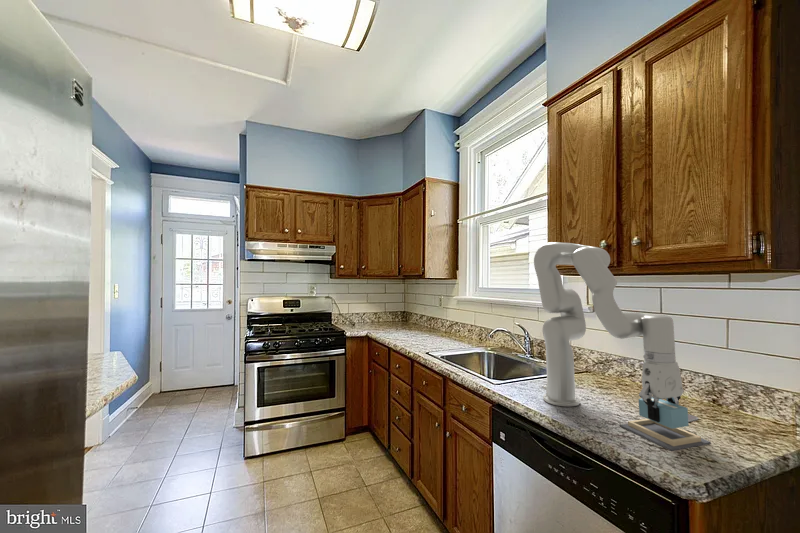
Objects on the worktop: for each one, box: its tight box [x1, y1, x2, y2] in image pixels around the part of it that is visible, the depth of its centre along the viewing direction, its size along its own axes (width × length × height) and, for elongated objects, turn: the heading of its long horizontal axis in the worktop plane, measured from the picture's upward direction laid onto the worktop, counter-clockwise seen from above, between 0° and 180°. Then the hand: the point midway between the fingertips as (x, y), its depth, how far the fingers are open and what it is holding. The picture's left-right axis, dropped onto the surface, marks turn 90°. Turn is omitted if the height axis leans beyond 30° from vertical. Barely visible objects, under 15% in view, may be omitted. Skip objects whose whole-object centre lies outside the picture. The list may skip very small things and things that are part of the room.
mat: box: [619, 418, 712, 452], centre depth 102 cm, size 16×14×2 cm
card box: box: [638, 397, 689, 429], centre depth 102 cm, size 10×6×5 cm, turn 14°
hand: (663, 418), depth 102 cm, fingers closed on card box, 6 cm apart
